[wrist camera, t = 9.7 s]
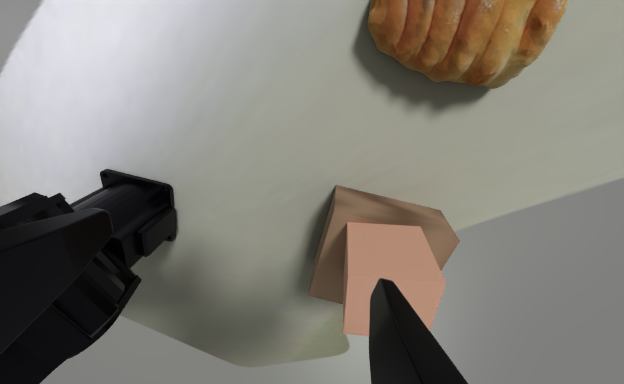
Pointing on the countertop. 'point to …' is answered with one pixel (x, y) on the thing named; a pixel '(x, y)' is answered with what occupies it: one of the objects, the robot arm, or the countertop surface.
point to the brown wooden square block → (375, 211)
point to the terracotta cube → (388, 271)
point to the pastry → (465, 36)
